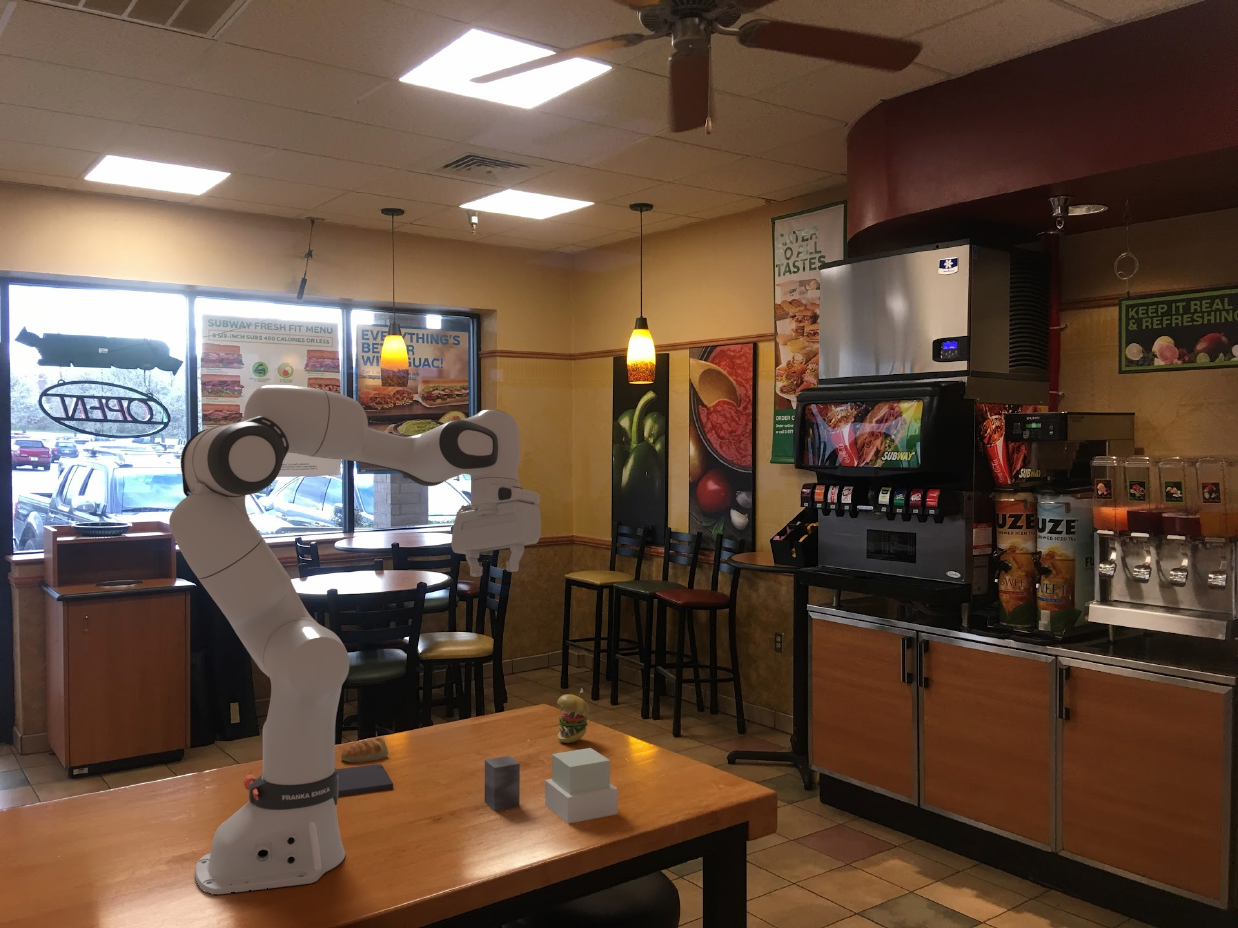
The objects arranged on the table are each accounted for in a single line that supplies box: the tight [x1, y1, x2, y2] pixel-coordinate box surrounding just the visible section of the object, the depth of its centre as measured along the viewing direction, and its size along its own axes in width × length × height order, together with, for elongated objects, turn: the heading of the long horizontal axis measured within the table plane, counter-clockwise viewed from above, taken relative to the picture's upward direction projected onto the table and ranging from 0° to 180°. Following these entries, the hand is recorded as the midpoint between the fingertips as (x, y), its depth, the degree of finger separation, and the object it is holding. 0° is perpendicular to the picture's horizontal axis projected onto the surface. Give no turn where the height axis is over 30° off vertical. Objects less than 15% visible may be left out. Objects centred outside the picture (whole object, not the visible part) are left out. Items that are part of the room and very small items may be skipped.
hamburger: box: [556, 687, 590, 744], centre depth 220 cm, size 8×7×12 cm
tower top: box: [551, 747, 611, 795], centre depth 180 cm, size 8×8×5 cm
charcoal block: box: [484, 755, 521, 812], centre depth 182 cm, size 5×5×8 cm
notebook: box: [335, 763, 394, 797], centre depth 191 cm, size 13×2×21 cm
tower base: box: [544, 778, 619, 825], centre depth 180 cm, size 10×10×5 cm
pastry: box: [340, 737, 389, 763], centre depth 208 cm, size 9×7×4 cm
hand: (493, 573), depth 176 cm, fingers open, 8 cm apart
